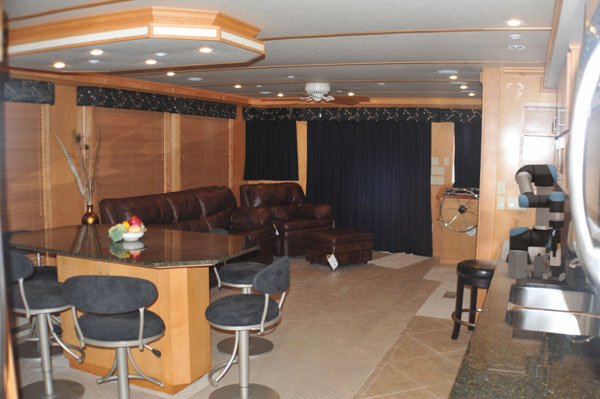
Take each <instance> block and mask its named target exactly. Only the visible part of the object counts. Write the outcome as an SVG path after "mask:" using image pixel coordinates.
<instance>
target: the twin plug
mask: <svg viewBox="0 0 600 399" xmlns="http://www.w3.org/2000/svg"><path fill="white" fill-rule="evenodd" d="M541 254H542V253H541V252H538V253H537V254H535V255H534V257H533V259H534V261H533V270H534V277H537V278H536V279H538V278H542V277H543V273H544V272H545V256H544V255H541Z"/></svg>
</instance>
